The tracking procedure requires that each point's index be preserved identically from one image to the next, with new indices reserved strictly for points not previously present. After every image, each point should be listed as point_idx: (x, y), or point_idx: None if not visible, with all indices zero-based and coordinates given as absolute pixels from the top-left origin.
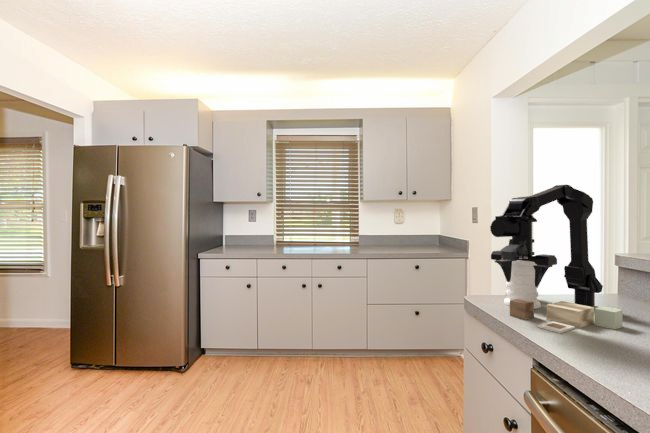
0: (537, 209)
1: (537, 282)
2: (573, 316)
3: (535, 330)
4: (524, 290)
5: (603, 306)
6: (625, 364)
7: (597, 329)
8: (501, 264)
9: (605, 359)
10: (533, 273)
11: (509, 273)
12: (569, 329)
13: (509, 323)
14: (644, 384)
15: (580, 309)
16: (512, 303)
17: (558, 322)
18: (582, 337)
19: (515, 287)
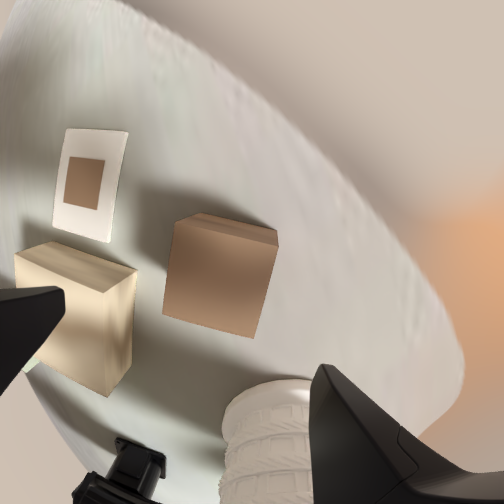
0: None
1: (23, 291)
2: (40, 253)
3: (129, 88)
4: (262, 450)
5: (23, 369)
6: (3, 58)
7: None
8: (476, 485)
9: (19, 49)
10: None
11: (325, 451)
12: (58, 189)
13: (231, 94)
14: (8, 18)
15: None
16: (259, 239)
17: (99, 258)
18: (34, 145)
19: (305, 452)
